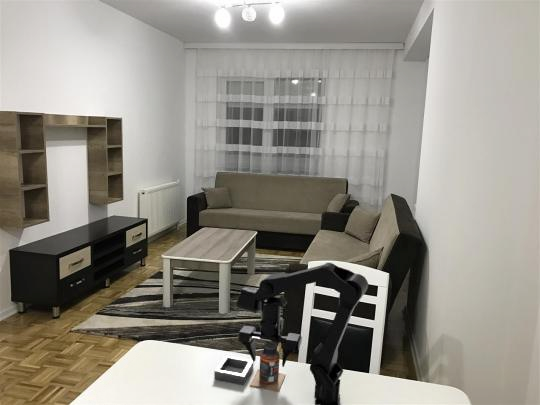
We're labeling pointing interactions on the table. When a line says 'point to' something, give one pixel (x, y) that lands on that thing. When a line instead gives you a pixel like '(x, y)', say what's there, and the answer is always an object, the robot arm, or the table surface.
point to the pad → (273, 387)
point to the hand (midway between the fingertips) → (268, 363)
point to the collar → (232, 376)
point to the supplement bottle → (269, 364)
